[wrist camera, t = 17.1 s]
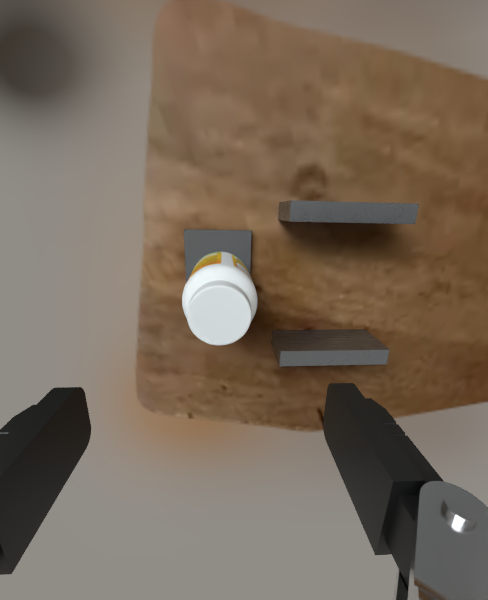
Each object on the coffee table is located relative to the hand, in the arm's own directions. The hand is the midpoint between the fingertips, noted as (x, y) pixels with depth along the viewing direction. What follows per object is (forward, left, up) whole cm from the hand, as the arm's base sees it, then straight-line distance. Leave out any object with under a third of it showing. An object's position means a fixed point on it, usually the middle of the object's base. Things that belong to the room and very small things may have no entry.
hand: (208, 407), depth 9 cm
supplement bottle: (0, 0, -18) cm, 18 cm away
